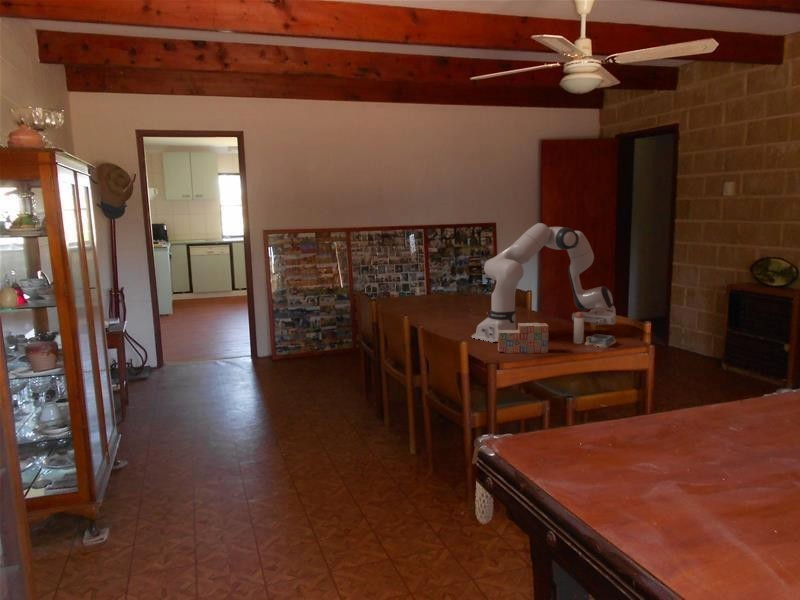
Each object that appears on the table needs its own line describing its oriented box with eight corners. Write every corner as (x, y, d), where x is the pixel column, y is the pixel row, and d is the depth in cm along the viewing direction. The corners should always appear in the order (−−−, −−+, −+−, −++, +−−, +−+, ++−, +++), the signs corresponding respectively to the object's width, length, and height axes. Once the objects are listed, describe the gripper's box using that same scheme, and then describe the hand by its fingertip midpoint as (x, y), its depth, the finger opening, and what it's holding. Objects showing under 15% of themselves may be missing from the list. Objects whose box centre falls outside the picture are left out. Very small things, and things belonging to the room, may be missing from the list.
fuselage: (572, 343, 275) (572, 312, 272) (575, 341, 278) (576, 310, 276) (581, 344, 272) (582, 313, 270) (584, 342, 275) (585, 311, 273)
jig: (584, 344, 271) (585, 337, 270) (594, 339, 280) (594, 332, 279) (607, 347, 264) (607, 339, 264) (615, 342, 274) (616, 334, 273)
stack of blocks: (498, 353, 260) (498, 326, 258) (497, 350, 266) (497, 323, 264) (548, 353, 259) (548, 325, 257) (545, 349, 265) (546, 322, 263)
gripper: (577, 307, 299) (567, 312, 288) (619, 311, 287) (609, 316, 276) (577, 320, 300) (566, 324, 289) (618, 324, 288) (608, 329, 277)
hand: (587, 320), depth 283 cm, fingers open, 8 cm apart
